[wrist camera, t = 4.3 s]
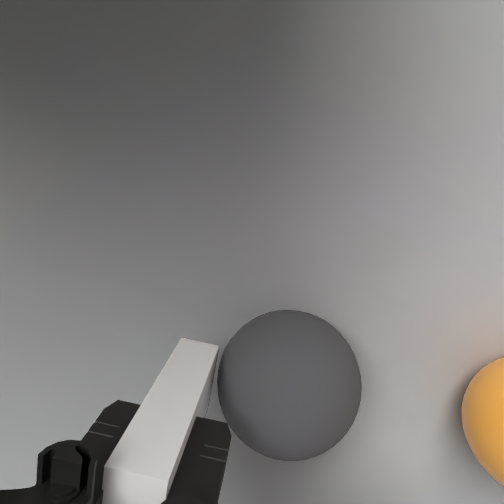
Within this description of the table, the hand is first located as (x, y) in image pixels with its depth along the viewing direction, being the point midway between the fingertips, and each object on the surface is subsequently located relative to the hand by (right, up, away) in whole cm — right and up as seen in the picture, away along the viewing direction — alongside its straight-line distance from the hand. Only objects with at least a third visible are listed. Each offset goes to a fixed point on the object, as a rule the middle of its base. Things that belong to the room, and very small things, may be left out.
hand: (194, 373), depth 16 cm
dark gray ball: (+4, 0, 0) cm, 4 cm away
